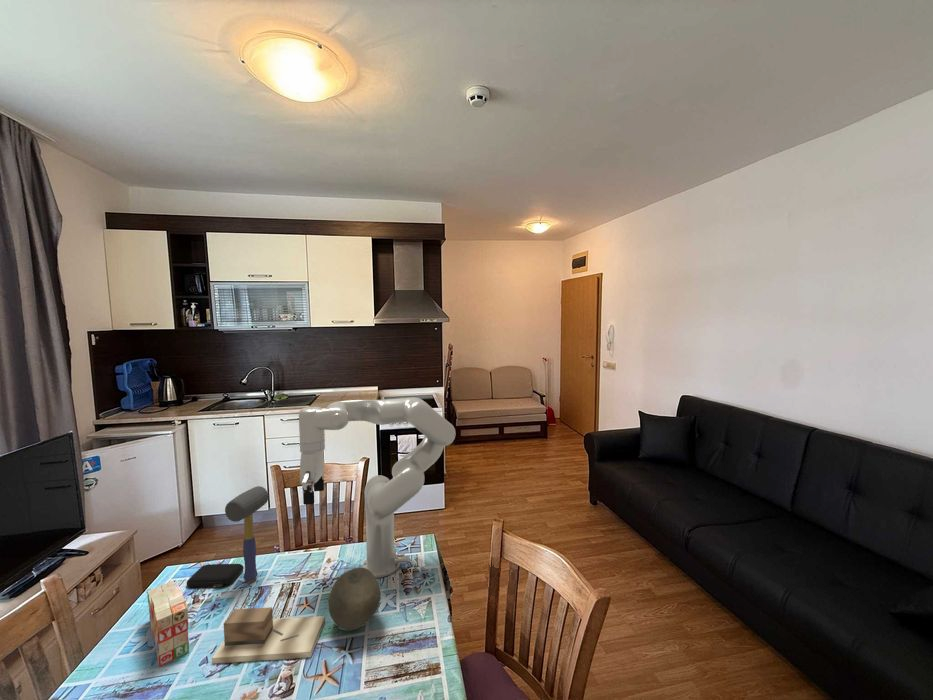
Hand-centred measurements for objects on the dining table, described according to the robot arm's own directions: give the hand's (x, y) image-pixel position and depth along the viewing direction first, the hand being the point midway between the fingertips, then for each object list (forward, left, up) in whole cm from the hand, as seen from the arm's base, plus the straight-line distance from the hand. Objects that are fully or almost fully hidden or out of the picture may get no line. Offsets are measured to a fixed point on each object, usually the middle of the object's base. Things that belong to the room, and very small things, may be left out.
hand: (314, 497), depth 124 cm
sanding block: (+10, +24, -27) cm, 37 cm away
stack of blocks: (+33, +20, -29) cm, 48 cm away
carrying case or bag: (+34, -3, -29) cm, 45 cm away
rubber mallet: (+22, -2, -28) cm, 36 cm away
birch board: (+4, +24, -28) cm, 37 cm away
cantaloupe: (-17, +20, -28) cm, 39 cm away
